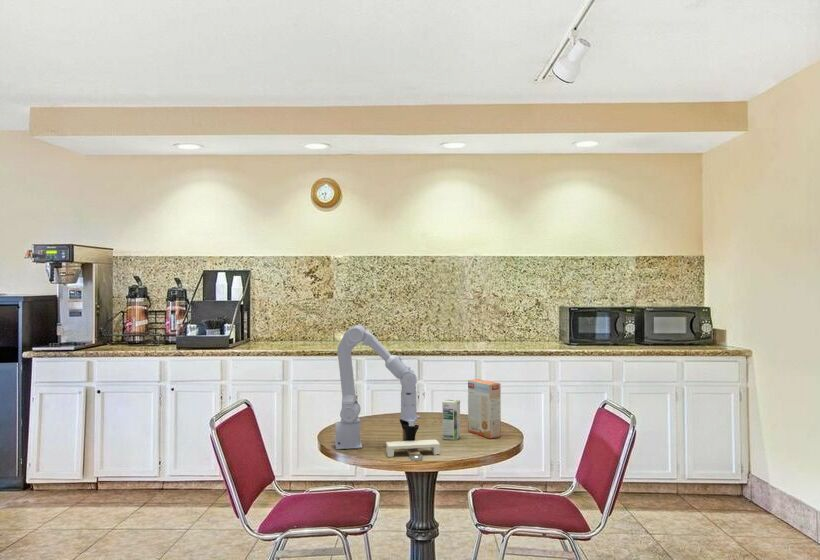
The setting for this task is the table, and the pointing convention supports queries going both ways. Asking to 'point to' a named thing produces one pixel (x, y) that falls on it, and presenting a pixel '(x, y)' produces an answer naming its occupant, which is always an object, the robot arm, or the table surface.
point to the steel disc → (416, 457)
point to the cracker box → (484, 408)
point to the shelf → (412, 446)
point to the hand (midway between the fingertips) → (408, 441)
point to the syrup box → (451, 419)
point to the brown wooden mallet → (410, 450)
